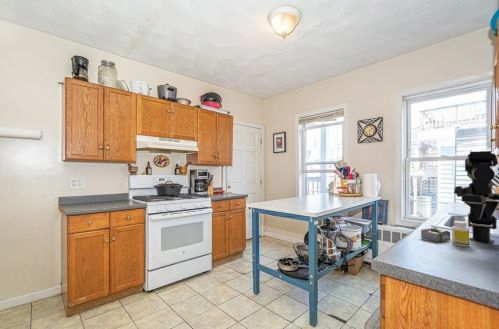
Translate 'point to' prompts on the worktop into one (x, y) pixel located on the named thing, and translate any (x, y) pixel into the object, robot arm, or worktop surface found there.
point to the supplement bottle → (460, 234)
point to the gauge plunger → (443, 234)
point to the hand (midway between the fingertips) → (483, 218)
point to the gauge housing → (433, 235)
